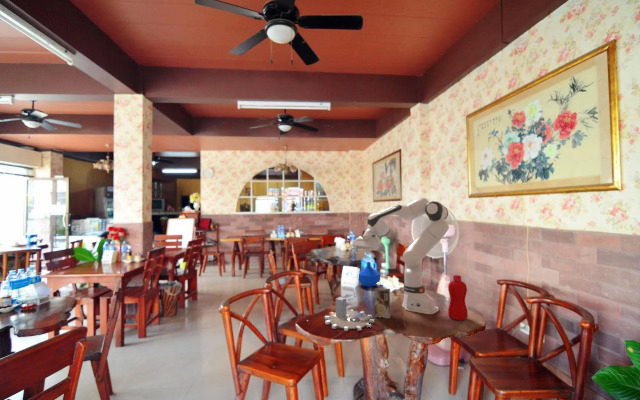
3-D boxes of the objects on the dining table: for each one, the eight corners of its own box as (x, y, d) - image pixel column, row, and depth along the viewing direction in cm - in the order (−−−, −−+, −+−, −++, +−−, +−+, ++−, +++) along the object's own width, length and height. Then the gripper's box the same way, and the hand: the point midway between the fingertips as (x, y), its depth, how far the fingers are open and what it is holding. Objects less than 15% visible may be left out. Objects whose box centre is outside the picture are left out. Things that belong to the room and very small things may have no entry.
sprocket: (383, 319, 178) (383, 316, 178) (354, 336, 157) (354, 332, 157) (344, 308, 198) (344, 305, 198) (314, 321, 176) (314, 318, 176)
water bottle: (444, 317, 180) (443, 275, 180) (455, 313, 186) (455, 273, 186) (458, 322, 172) (457, 278, 172) (469, 318, 178) (469, 276, 178)
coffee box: (391, 315, 185) (390, 288, 185) (389, 318, 179) (389, 291, 179) (376, 313, 188) (375, 287, 189) (374, 317, 182) (373, 290, 183)
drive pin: (346, 315, 182) (346, 298, 182) (341, 317, 178) (341, 300, 178) (340, 313, 185) (340, 296, 185) (335, 315, 181) (335, 298, 181)
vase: (384, 287, 244) (383, 263, 244) (362, 289, 240) (362, 265, 240) (375, 281, 261) (374, 259, 262) (354, 283, 258) (354, 260, 258)
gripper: (355, 234, 224) (347, 249, 217) (379, 236, 210) (371, 251, 203) (358, 239, 227) (351, 254, 220) (382, 241, 214) (375, 257, 206)
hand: (361, 253), depth 212 cm, fingers open, 8 cm apart
